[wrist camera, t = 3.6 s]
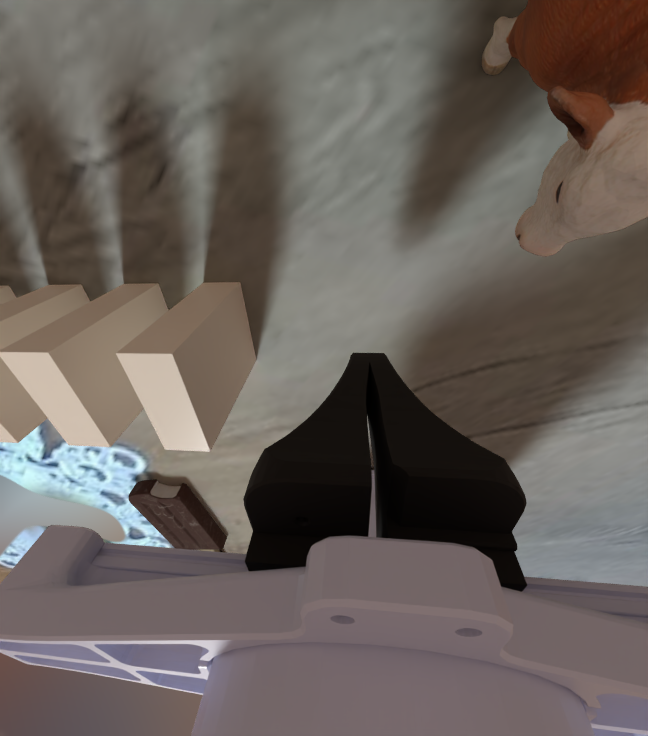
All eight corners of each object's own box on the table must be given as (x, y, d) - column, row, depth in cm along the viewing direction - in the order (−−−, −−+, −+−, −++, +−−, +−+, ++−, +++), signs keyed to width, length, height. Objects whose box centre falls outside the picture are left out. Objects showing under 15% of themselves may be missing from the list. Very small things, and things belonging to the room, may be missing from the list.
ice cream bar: (244, 556, 35) (183, 474, 27) (239, 572, 33) (174, 491, 25) (203, 556, 36) (132, 477, 28) (197, 571, 34) (121, 494, 26)
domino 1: (81, 284, 17) (-66, 351, 11) (119, 358, 19) (17, 442, 14) (48, 284, 17) (-113, 351, 11) (90, 357, 19) (-22, 440, 14)
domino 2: (158, 283, 16) (48, 352, 10) (186, 358, 19) (110, 447, 13) (123, 283, 16) (-4, 351, 11) (155, 358, 19) (68, 445, 13)
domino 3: (240, 282, 16) (172, 353, 10) (256, 359, 18) (210, 451, 13) (203, 282, 16) (115, 353, 10) (224, 359, 19) (165, 449, 13)
